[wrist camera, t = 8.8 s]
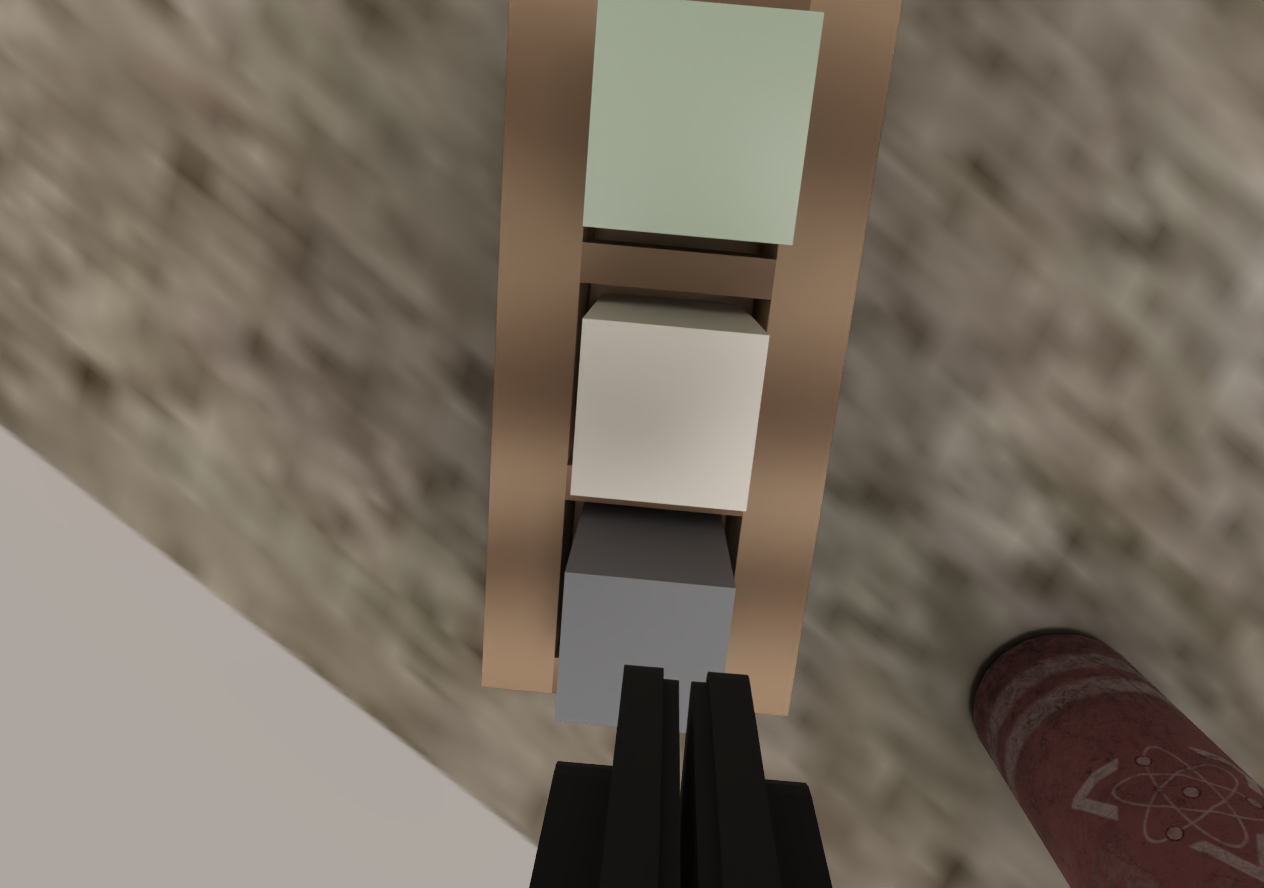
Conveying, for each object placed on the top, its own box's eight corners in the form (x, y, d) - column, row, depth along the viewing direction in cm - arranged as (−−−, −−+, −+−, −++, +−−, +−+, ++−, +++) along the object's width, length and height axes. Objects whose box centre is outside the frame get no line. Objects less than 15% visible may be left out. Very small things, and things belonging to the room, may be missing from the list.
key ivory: (603, 292, 25) (582, 318, 19) (741, 305, 25) (769, 335, 19) (593, 425, 27) (570, 494, 20) (724, 437, 27) (746, 511, 20)
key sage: (617, 61, 22) (598, -8, 16) (775, 75, 22) (824, 12, 15) (605, 224, 23) (582, 226, 17) (754, 238, 23) (792, 245, 17)
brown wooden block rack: (539, 13, 25) (510, -36, 20) (856, 40, 25) (902, -2, 20) (509, 613, 31) (481, 686, 26) (767, 638, 31) (787, 715, 26)
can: (930, 716, 31) (1132, 1088, 18) (1044, 597, 30) (1358, 906, 16) (1046, 794, 32) (1322, 1207, 19) (1162, 683, 31) (1555, 1045, 17)
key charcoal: (588, 485, 27) (564, 571, 20) (717, 497, 27) (735, 588, 20) (580, 602, 28) (554, 720, 22) (703, 614, 28) (716, 736, 22)
